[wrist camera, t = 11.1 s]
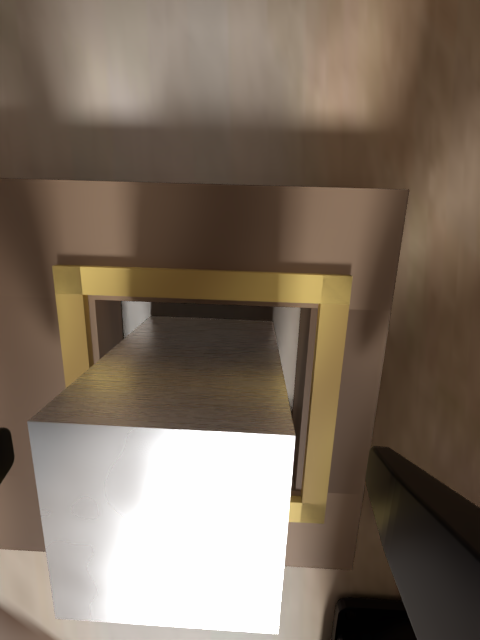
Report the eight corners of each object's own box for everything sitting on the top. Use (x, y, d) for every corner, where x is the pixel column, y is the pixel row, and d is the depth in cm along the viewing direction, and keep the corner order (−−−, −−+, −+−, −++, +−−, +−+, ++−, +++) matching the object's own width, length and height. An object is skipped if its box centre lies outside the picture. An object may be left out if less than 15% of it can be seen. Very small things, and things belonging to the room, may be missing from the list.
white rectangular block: (272, 321, 12) (295, 435, 6) (266, 429, 13) (278, 634, 7) (150, 315, 12) (27, 420, 6) (154, 423, 14) (55, 618, 7)
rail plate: (382, 196, 11) (414, 188, 9) (339, 524, 14) (354, 578, 12) (-274, 177, 12) (-398, 166, 9) (-167, 495, 15) (-239, 542, 13)
